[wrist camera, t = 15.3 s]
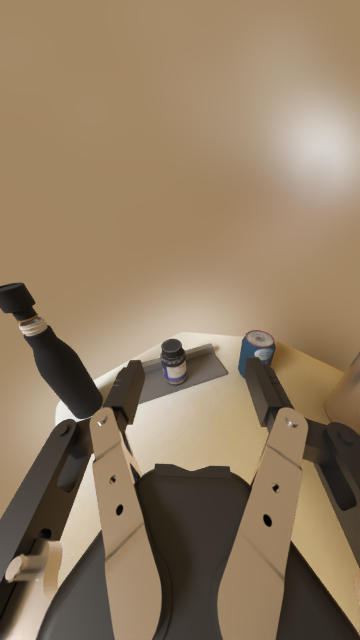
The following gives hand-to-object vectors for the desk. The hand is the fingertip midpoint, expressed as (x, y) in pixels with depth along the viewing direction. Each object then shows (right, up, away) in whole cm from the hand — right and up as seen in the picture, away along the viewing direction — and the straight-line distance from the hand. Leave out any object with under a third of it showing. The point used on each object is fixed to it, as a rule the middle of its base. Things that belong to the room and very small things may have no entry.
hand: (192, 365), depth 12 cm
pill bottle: (-2, -12, +31) cm, 33 cm away
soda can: (+18, -11, +30) cm, 37 cm away
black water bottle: (-23, -17, +27) cm, 39 cm away
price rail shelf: (-2, -12, +31) cm, 33 cm away
